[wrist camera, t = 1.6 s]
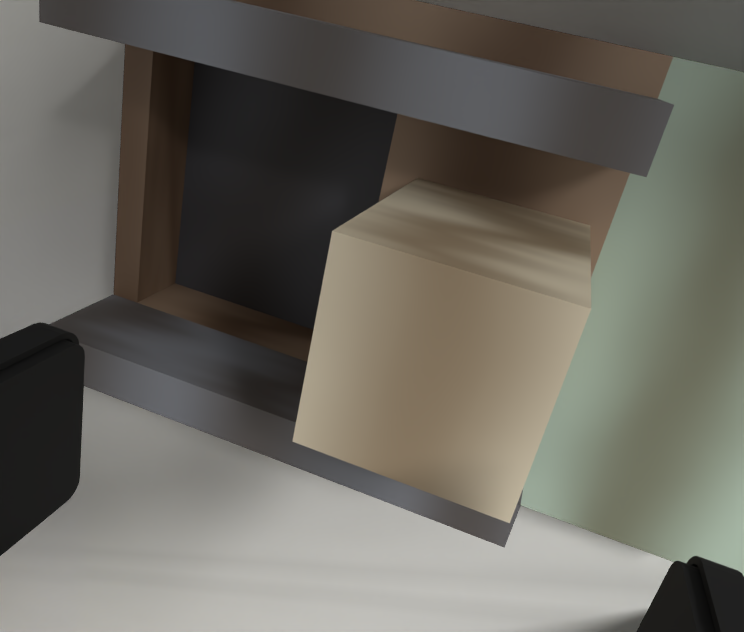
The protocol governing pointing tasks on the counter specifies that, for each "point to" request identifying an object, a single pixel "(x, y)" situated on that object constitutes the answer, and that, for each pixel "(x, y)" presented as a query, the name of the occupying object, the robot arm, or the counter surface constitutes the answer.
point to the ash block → (445, 341)
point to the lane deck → (446, 167)
